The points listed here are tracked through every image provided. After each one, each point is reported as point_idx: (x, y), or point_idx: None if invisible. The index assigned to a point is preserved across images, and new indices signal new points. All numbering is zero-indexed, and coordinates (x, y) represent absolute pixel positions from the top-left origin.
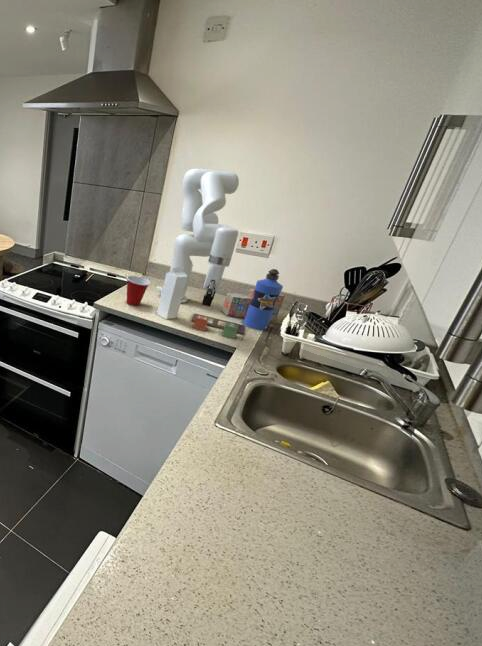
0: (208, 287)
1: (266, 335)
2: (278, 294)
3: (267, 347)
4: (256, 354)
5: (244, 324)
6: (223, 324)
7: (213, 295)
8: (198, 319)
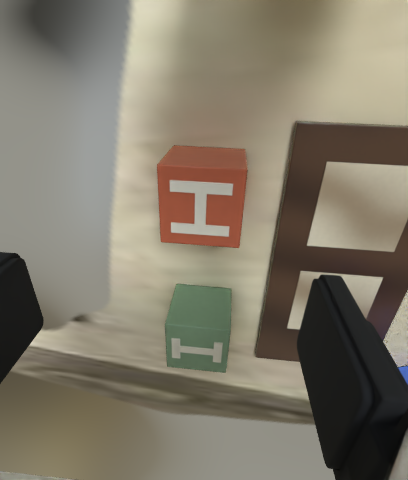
0: (392, 468)
1: (305, 411)
2: None
3: (181, 399)
4: (87, 368)
5: (400, 367)
6: None
7: (311, 396)
8: (158, 184)
